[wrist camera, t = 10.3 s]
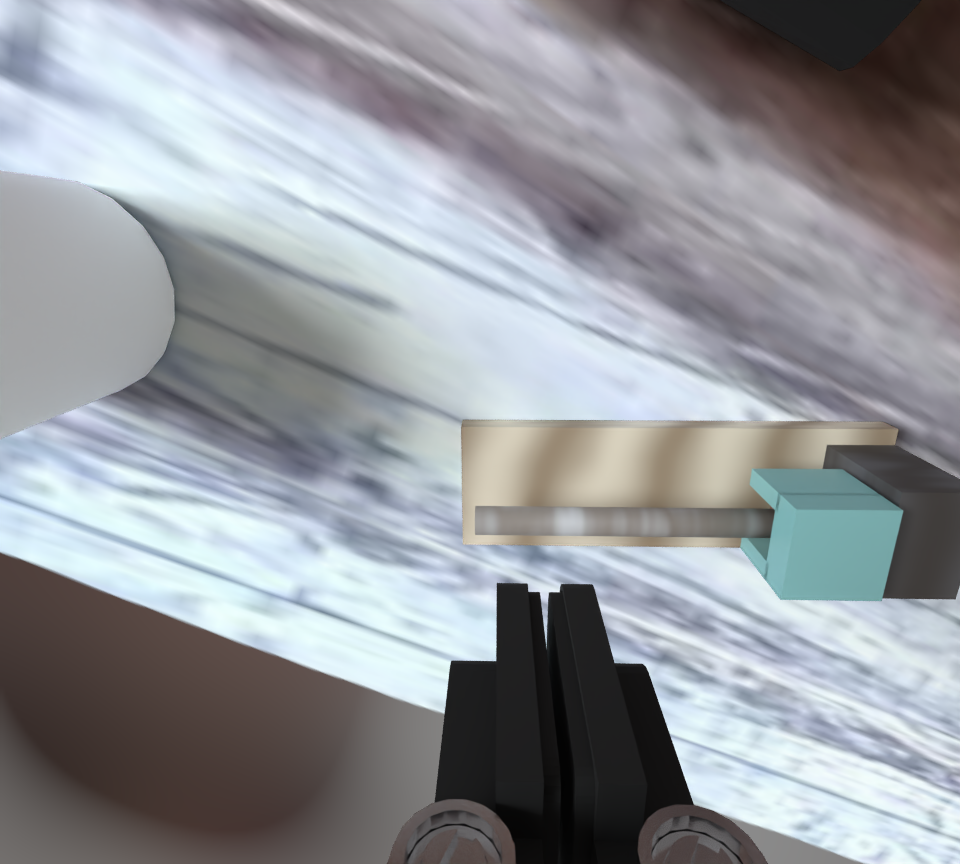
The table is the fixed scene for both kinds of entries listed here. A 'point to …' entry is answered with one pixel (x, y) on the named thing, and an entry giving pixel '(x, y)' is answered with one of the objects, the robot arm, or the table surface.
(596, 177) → the table surface
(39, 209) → the white jar
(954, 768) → the table surface
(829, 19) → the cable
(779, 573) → the sleeve
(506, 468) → the wooden slide rail
